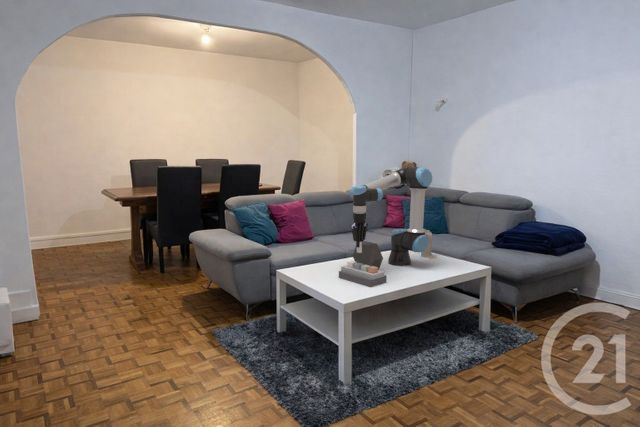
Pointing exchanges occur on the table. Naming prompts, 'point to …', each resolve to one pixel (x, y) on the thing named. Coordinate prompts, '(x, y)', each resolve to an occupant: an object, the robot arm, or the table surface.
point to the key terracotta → (373, 269)
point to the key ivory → (351, 264)
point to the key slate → (358, 266)
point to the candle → (427, 251)
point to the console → (362, 276)
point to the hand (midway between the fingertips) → (359, 252)
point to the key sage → (365, 267)
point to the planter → (369, 255)
